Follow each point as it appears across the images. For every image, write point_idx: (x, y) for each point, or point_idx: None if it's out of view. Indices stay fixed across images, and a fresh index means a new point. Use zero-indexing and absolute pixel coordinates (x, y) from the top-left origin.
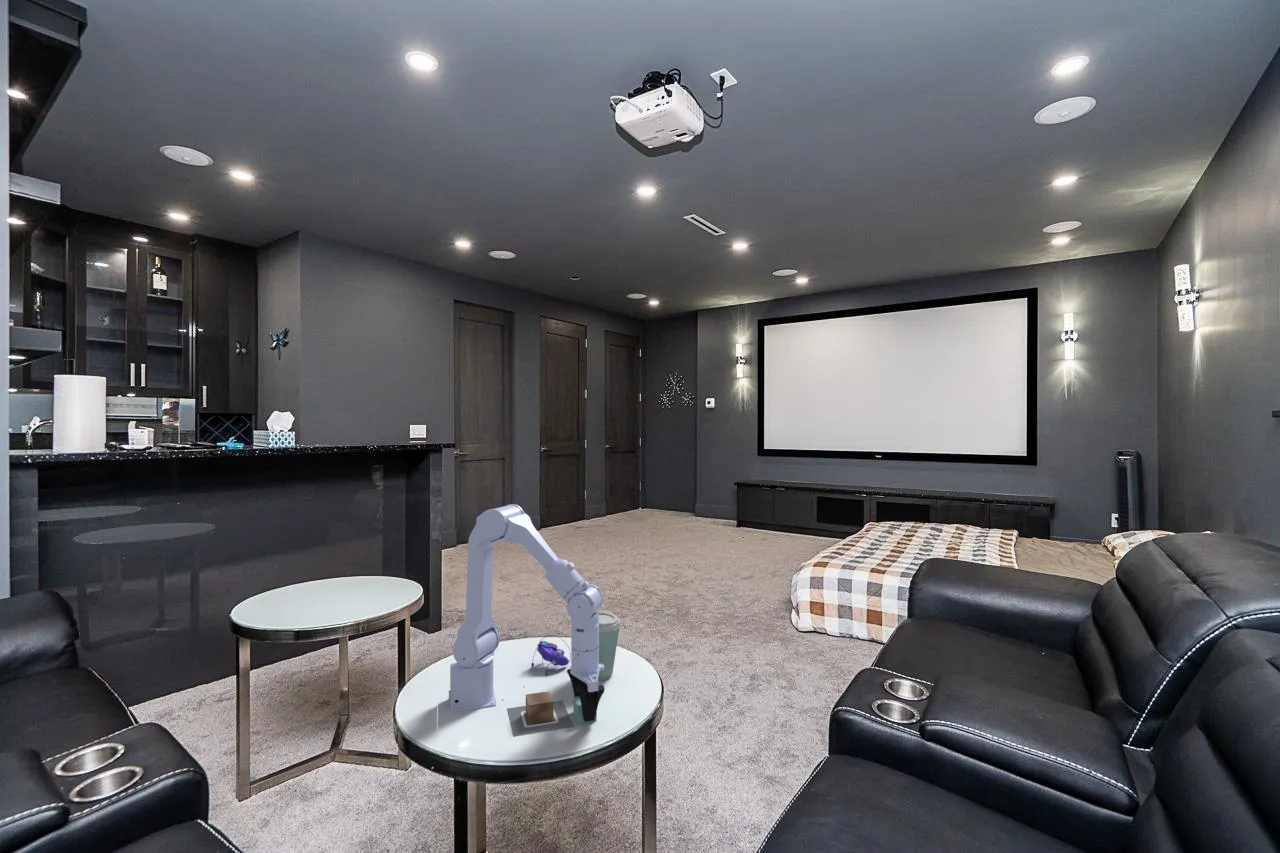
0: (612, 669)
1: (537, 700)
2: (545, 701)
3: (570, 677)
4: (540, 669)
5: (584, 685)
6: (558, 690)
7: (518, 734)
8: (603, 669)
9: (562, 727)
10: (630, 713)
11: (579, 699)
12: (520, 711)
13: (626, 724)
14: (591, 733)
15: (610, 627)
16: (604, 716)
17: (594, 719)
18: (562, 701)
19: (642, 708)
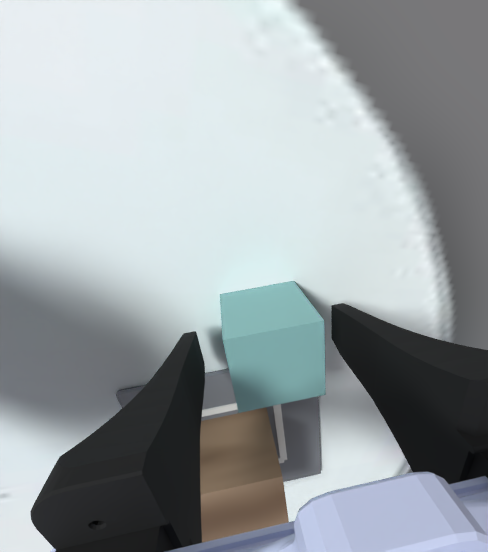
0: None
1: (259, 515)
2: (275, 496)
3: (200, 531)
4: None
5: (183, 403)
6: (14, 407)
7: (315, 466)
8: (449, 490)
9: None
10: (253, 117)
11: (266, 390)
12: None
13: (348, 159)
14: (364, 301)
15: None
16: (257, 248)
17: (345, 304)
18: (126, 394)
19: (206, 20)
